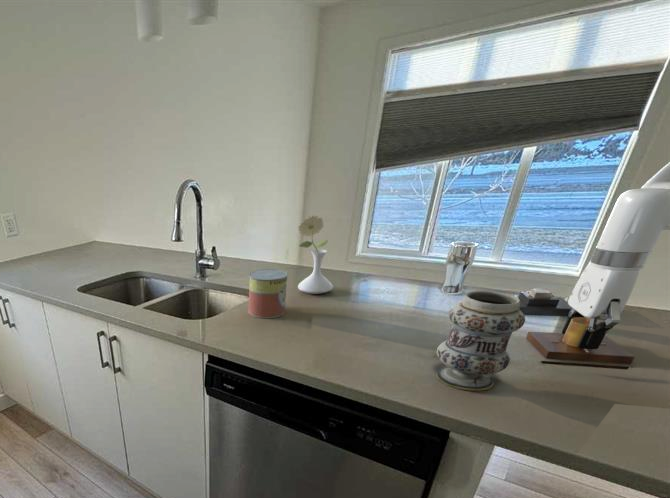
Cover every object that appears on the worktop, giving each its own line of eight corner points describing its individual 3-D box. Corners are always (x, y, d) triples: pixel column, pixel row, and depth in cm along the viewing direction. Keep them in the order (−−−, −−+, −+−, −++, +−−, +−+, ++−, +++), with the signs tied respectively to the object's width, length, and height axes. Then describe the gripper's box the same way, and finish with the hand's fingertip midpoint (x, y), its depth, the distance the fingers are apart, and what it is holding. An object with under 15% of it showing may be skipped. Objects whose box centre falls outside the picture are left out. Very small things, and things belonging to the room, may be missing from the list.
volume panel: (599, 347, 92) (605, 334, 90) (627, 369, 83) (635, 356, 82) (523, 343, 97) (528, 330, 95) (543, 363, 88) (548, 350, 86)
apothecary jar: (509, 379, 84) (544, 295, 75) (484, 401, 78) (518, 313, 69) (445, 361, 92) (469, 283, 83) (419, 378, 87) (441, 298, 78)
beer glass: (434, 293, 130) (447, 245, 123) (441, 287, 134) (454, 240, 126) (459, 296, 125) (474, 247, 118) (466, 290, 129) (481, 242, 122)
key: (544, 295, 112) (546, 288, 111) (549, 299, 109) (552, 292, 108) (528, 294, 113) (530, 288, 112) (533, 298, 110) (535, 292, 109)
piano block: (557, 304, 115) (563, 290, 113) (574, 317, 107) (581, 302, 105) (497, 302, 119) (502, 289, 117) (509, 314, 111) (514, 300, 109)
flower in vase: (333, 287, 143) (343, 211, 131) (330, 297, 134) (341, 217, 122) (295, 285, 148) (301, 213, 136) (290, 295, 139) (296, 218, 127)
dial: (557, 337, 91) (567, 315, 89) (586, 338, 90) (597, 316, 87) (568, 347, 87) (579, 324, 84) (599, 348, 85) (611, 325, 83)
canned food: (278, 320, 121) (281, 280, 115) (243, 315, 127) (243, 278, 121) (289, 307, 129) (292, 270, 123) (255, 304, 135) (256, 268, 129)
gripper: (573, 248, 87) (540, 325, 96) (618, 269, 74) (575, 357, 83) (618, 248, 85) (581, 327, 94) (674, 270, 71) (623, 360, 80)
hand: (578, 340), depth 88 cm, fingers open, 6 cm apart
